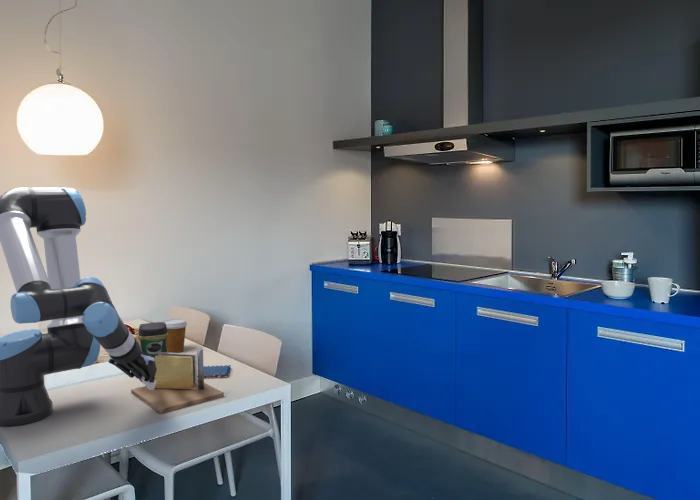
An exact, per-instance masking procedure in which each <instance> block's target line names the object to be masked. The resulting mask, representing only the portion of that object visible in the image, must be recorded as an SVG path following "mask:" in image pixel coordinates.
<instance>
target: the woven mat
mask: <svg viewBox="0 0 700 500" xmlns="http://www.w3.org/2000/svg"><path fill="white" fill-rule="evenodd" d="M203 366H204V380H206V379H210V378H211V379H217V378H218V379H223V378H225V379H227V378H228V377H229V376H230V372H231V370H232V367H231V366H232V365H227V364H226V365H211V366H210V365H203ZM197 378H198V375H197Z"/></svg>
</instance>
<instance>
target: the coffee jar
mask: <svg viewBox="0 0 700 500" xmlns="http://www.w3.org/2000/svg"><path fill="white" fill-rule="evenodd" d="M167 336H168V331H167V327H166V324H165V322H163V321H158V322H157V321H156V322H148V323H147V322H146V323H140V324H139V326H138V333H137V337H138V342H139V345H140V349H141V351H142V352H144V353H145V355H146V356H151V355H156V356H158V352H167V347H166V339H167ZM144 361H145V360H144ZM145 363H146V362H145Z"/></svg>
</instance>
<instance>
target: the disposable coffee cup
mask: <svg viewBox="0 0 700 500" xmlns="http://www.w3.org/2000/svg"><path fill="white" fill-rule="evenodd" d="M162 322H165V324H166V327H167V331H168V336H167V339H166V347H167V352H170V353H181V352H184V350H185V348H184V347H185V339H186V328H187V325H188V322H187V321H186V319H183V318H170V319H166V320H164V321H162Z"/></svg>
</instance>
